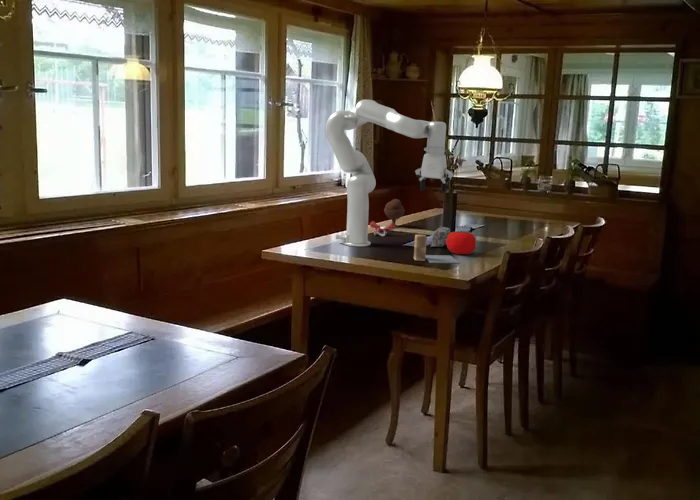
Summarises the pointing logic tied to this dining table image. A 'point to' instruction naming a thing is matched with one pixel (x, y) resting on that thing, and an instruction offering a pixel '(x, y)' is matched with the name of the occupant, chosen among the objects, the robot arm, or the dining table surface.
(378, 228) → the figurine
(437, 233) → the rock
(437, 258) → the mat
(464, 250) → the tomato
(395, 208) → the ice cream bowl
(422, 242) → the block
